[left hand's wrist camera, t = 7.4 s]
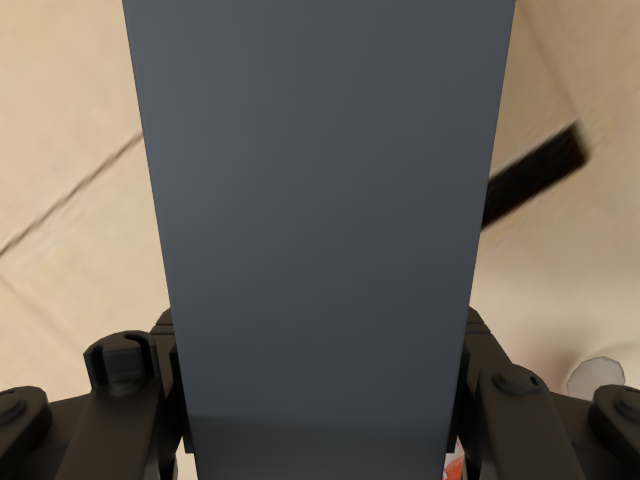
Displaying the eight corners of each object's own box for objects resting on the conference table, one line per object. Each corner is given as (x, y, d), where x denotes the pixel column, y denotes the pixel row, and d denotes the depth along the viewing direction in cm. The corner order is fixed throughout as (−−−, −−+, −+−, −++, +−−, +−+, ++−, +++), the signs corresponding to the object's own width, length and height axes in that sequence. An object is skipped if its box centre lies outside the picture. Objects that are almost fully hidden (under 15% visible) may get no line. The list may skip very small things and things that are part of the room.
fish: (347, 450, 23) (495, 651, 16) (523, 279, 27) (716, 376, 19) (395, 504, 30) (516, 664, 22) (532, 362, 33) (677, 458, 26)
